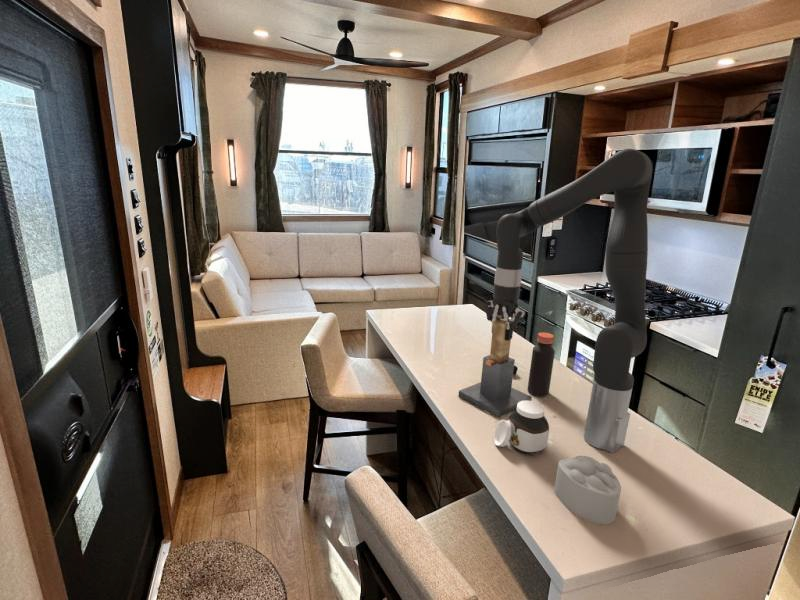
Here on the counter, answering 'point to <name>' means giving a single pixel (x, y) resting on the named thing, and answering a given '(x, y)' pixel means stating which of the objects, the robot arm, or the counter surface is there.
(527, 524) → the counter surface
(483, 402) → the metal sleeve stand
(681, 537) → the counter surface
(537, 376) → the bottle
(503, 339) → the oak post
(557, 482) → the lumpy-topped squat cylinder
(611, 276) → the robot arm
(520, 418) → the spread jar
